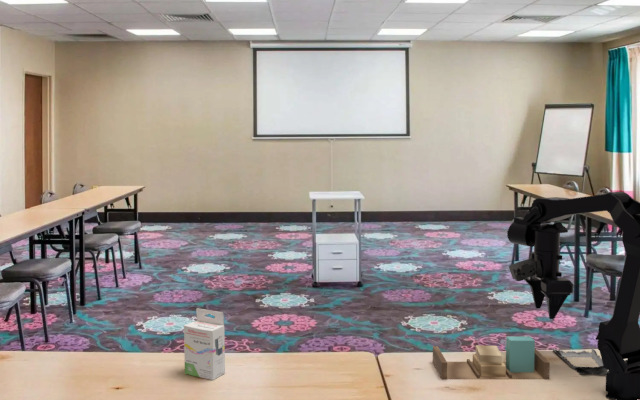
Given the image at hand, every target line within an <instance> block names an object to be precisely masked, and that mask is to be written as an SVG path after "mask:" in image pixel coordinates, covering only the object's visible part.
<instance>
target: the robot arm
mask: <svg viewBox="0 0 640 400" xmlns="http://www.w3.org/2000/svg"><path fill="white" fill-rule="evenodd" d="M598 212H599V213H600V212H607V213H609V215H610V217H611V219H612V221H613V223H614V224H615V225H616V226H617V227H618V228H619V229H620V230H621V231H622V234H621V236H622V237H621V242H622V244H623V248H624V250H625V259H624V263H623V266H622V267H623V268H622V273H621V276H620V277H621V278H620V280H619V285H618V289H617V294H616V299H615V303H614V309H613V314H612V316H611V318H610V319H609V320H605V321H600V322H599V325H598V332H597V336H596V337H595V341H597V350H598V351H599V353H600V358H601V359H602V362H603V366H604V368H605V369H607V370H608V372H607V373H606V375H605V388H604V389H605V392H606V394H605V397H606V398H607V399H610V400H615V399H617V400H637V399H640V325H639V318H640V201H638V200H636V199H634V198H633V197H632V196H631V195H629V193H627V192H624V191H609V192H606V193H604V194H596V195H595V194H594V195H589V196H587V195H586V196H582V197H581V196H579V197H576V198H575V197H574V198H568V197H558V196H557V197H553V196H552V197H540V198H539V197H537V198H534V200H533V201H532V204H531V205H530V208H529V209H528V211H527V212H526V214H525V216H524V217H521V216H520V217H514V218H513V222H512V223H511V224H510V225H509V227H508V228H507V231H506V235H507V240H508V241H509V242H510V243H512V244H515V245H519V246H525V247H530V248H532V247H533V251H531V253H530V254H529V258H527V259H523V260H521V261H517V262H515V263H513V264H509V265H508V269H509V272H510V275H511V278H512V279H514V280H515V282H521V281H524V282H525V283H526V284H528V286H529V288H530V291H531V296H532V299H533V303H534V307H535V308H536V309H541V308H542V305H543V304H544V303H543V302H544V300H545V297H546V305H547V312H548V318H549V319H550V320H554V319H555V318H556V317H557V314H558V313H559V312H560V309H561V308H562V306H563V305H564V303H565V301H566V300H567V298H568V297H569V296H571V294H573V293H574V283H573V282H571V280H569V279H568V278H566V277H562V275H563V274H562V272H561V271H560V270H559V269H560V261H562V260H563V255H562V254H560V242H561V240H560V238H561V234H564V233H568V232H569V230H568V229H567V227H566V226H564V224H563V223H562V222H559V221H563V220H565V219H568V218H570V217H573V216H575V215H581V214H590V213H598ZM553 222H554V223H553ZM552 223H553V224H552Z"/></svg>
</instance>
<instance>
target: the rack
mask: <svg viewBox="0 0 640 400" xmlns="http://www.w3.org/2000/svg"><path fill="white" fill-rule="evenodd" d="M502 362H503V363H504V364H505V366H506V361H502ZM550 363H551V362H550V361H549V360H548V359H547V358H546V357H545V356H544V355H543V354H542V353H541V352H539V350H537V349H536V348H535V353H534V372H510V371H509V370H508V369H507V368H506V377H481V375H480V374H479V373H478V371H477V370H476V368H475V367H474V365H473V361H472V360H470V358H466V361H447V360H446V358H445V356H444V354H443V353H442V351H441V349H440V347H439V346H437V345H436V346H435V345H433V346H432V364H433V365H434V367H435V370H436V371H437V373H438V376H439V378H440V379H441V380H550V370H551V369H550V368H551V367H550V366H551V364H550Z"/></svg>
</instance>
